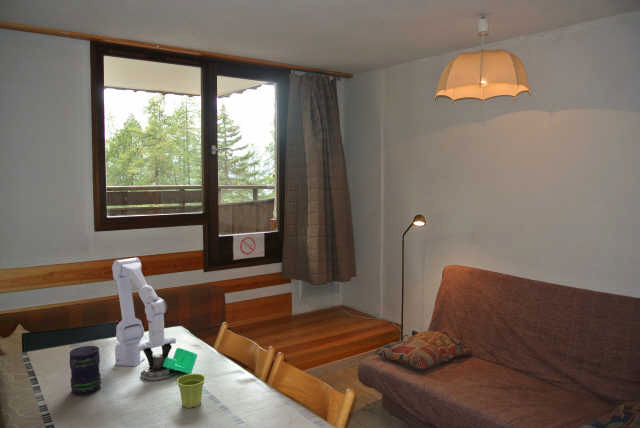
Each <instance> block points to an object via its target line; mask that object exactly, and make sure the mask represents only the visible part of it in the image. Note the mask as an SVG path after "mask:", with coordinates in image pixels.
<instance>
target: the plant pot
mask: <svg viewBox="0 0 640 428" xmlns="http://www.w3.org/2000/svg"><path fill="white" fill-rule="evenodd" d="M205 381H206V377H205V375H203V374H201V373H200V374H199V373H191V374H190V373H187V374H185V375H182V376H180V377H178V378H177V380H176V384H177V385H178V389H179V392H180V398H181V403H182V404H181V405H182V406H183V408H188V409H190V408H193V407H194V408H196V407H199V406H200V405H201V403H202V396H203V387H204V383H205Z"/></svg>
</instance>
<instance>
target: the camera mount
mask: <svg viewBox="0 0 640 428" xmlns="http://www.w3.org/2000/svg"><path fill="white" fill-rule="evenodd" d="M172 357H173V358H171V357H168V358H167V357H166V358H165V361H164V364H163V366H164V367H167V368H171V369H175V371H179V372H183V373H186V374H193V370H194V366H195V365H196V364H195V363H196V361H197V359H198V354H197V353H195V352H194V351H190V350H188V349H184V348H180V347H177V348H176V349H175V352H174V354H173V356H172Z"/></svg>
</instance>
